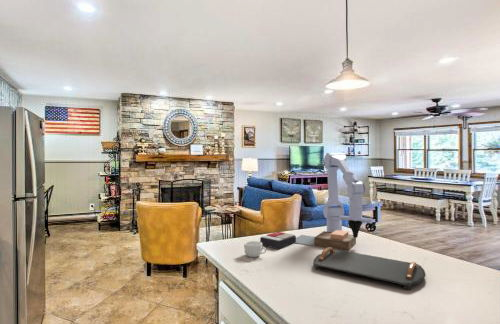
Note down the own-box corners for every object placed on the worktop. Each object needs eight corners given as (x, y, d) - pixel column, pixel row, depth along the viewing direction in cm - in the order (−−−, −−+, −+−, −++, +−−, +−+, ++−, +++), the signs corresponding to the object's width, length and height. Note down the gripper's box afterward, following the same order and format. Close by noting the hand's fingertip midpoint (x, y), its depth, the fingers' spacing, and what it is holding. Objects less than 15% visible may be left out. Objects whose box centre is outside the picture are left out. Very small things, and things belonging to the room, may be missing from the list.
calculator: (296, 234, 159) (279, 239, 147) (296, 243, 159) (278, 249, 147) (277, 230, 166) (259, 235, 154) (277, 239, 166) (259, 244, 154)
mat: (301, 235, 173) (301, 234, 173) (323, 238, 166) (323, 237, 166) (289, 242, 159) (289, 241, 159) (312, 246, 153) (312, 245, 153)
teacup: (240, 256, 137) (240, 244, 137) (249, 252, 144) (249, 240, 143) (261, 260, 132) (261, 247, 132) (270, 255, 138) (270, 243, 138)
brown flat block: (323, 239, 165) (323, 231, 165) (355, 243, 157) (355, 235, 157) (314, 245, 153) (314, 237, 153) (348, 250, 145) (348, 242, 145)
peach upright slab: (336, 234, 159) (336, 230, 159) (348, 235, 156) (348, 231, 156) (330, 238, 152) (330, 233, 152) (343, 239, 149) (343, 235, 149)
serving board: (429, 273, 119) (429, 257, 119) (419, 296, 100) (419, 276, 100) (329, 254, 142) (329, 240, 141) (305, 269, 123) (305, 253, 123)
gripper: (337, 207, 150) (337, 236, 151) (370, 210, 143) (370, 241, 143) (341, 205, 156) (341, 233, 157) (373, 208, 149) (373, 237, 149)
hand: (355, 237), depth 150 cm, fingers closed
